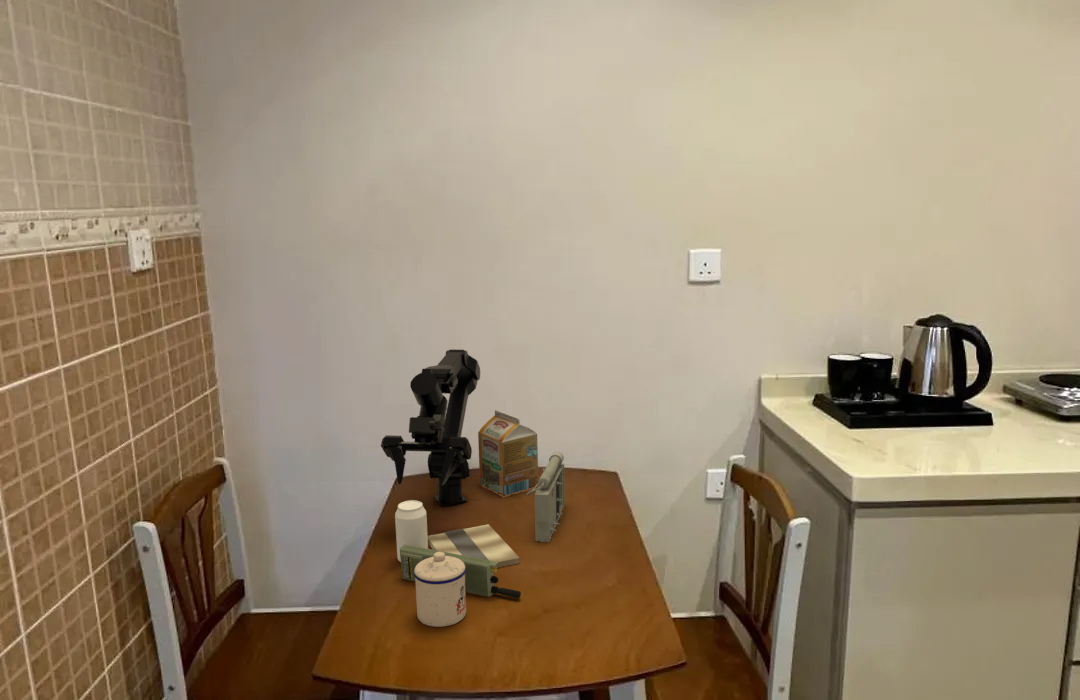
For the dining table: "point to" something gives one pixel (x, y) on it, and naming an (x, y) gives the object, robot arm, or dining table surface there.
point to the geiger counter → (549, 498)
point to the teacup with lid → (440, 590)
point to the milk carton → (507, 455)
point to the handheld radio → (476, 574)
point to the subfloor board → (475, 545)
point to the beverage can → (411, 525)
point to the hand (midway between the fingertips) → (420, 484)
